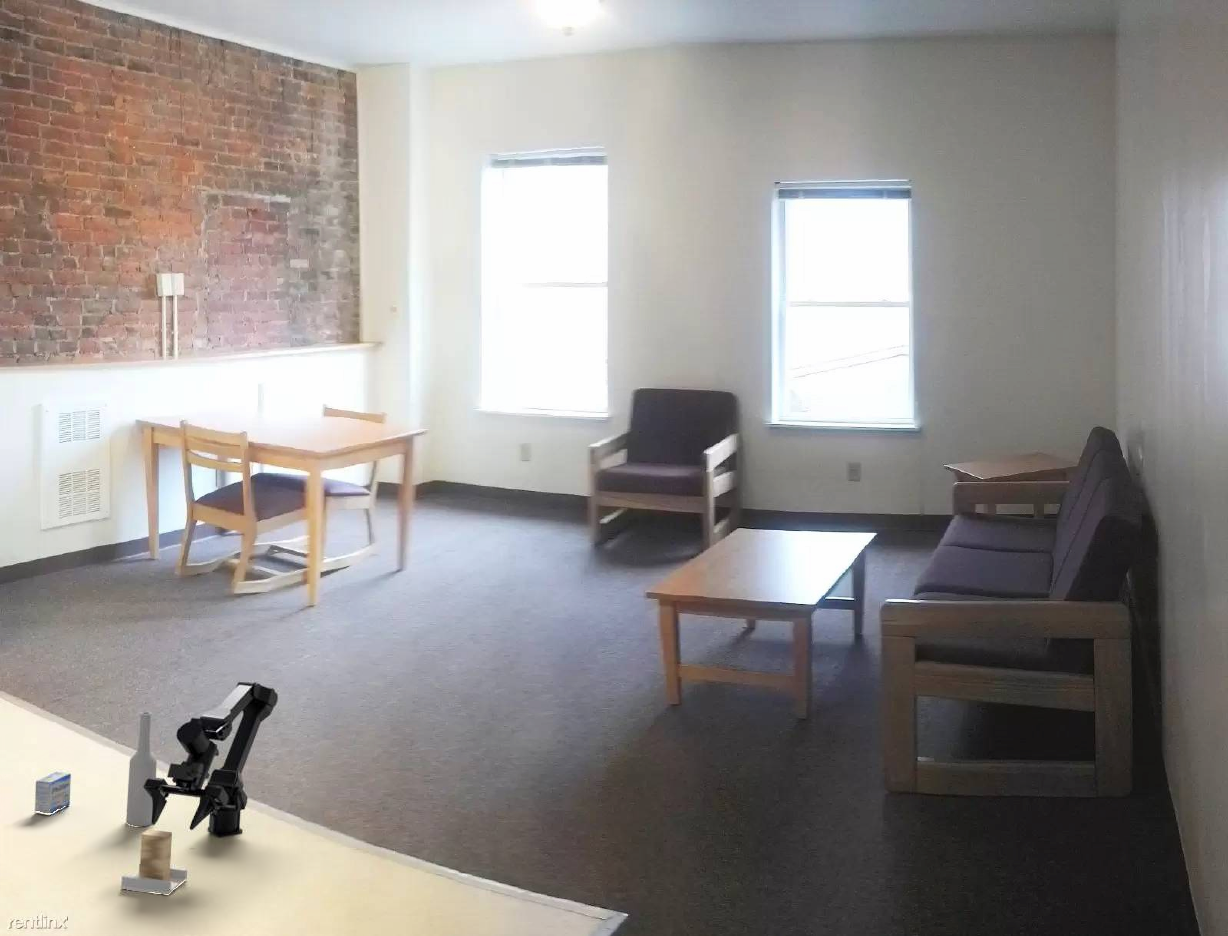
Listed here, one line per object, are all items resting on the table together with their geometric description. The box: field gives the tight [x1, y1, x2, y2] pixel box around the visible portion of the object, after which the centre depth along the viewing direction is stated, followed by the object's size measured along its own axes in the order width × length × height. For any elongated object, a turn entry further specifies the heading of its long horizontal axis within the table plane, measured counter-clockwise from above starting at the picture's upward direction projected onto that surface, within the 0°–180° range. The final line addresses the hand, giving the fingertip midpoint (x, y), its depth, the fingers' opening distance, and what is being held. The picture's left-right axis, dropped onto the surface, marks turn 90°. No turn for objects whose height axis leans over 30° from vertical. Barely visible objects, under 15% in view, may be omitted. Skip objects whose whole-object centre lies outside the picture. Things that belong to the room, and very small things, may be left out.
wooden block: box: [139, 828, 173, 881], centre depth 263 cm, size 6×3×11 cm, turn 82°
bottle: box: [125, 711, 158, 827], centre depth 297 cm, size 7×7×28 cm
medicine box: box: [34, 771, 72, 813], centre depth 301 cm, size 8×4×9 cm, turn 168°
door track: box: [120, 863, 188, 894], centre depth 263 cm, size 11×8×3 cm
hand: (171, 826), depth 269 cm, fingers open, 9 cm apart
